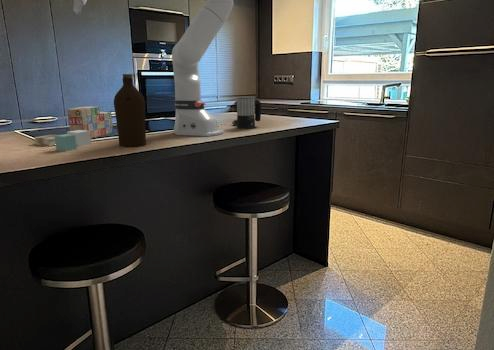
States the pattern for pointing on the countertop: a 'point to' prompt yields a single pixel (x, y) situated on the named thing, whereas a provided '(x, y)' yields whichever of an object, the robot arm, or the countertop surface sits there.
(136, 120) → the olive oil
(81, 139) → the white block
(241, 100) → the milk frother
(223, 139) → the countertop surface
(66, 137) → the teal block
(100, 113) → the stack of blocks
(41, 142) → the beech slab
